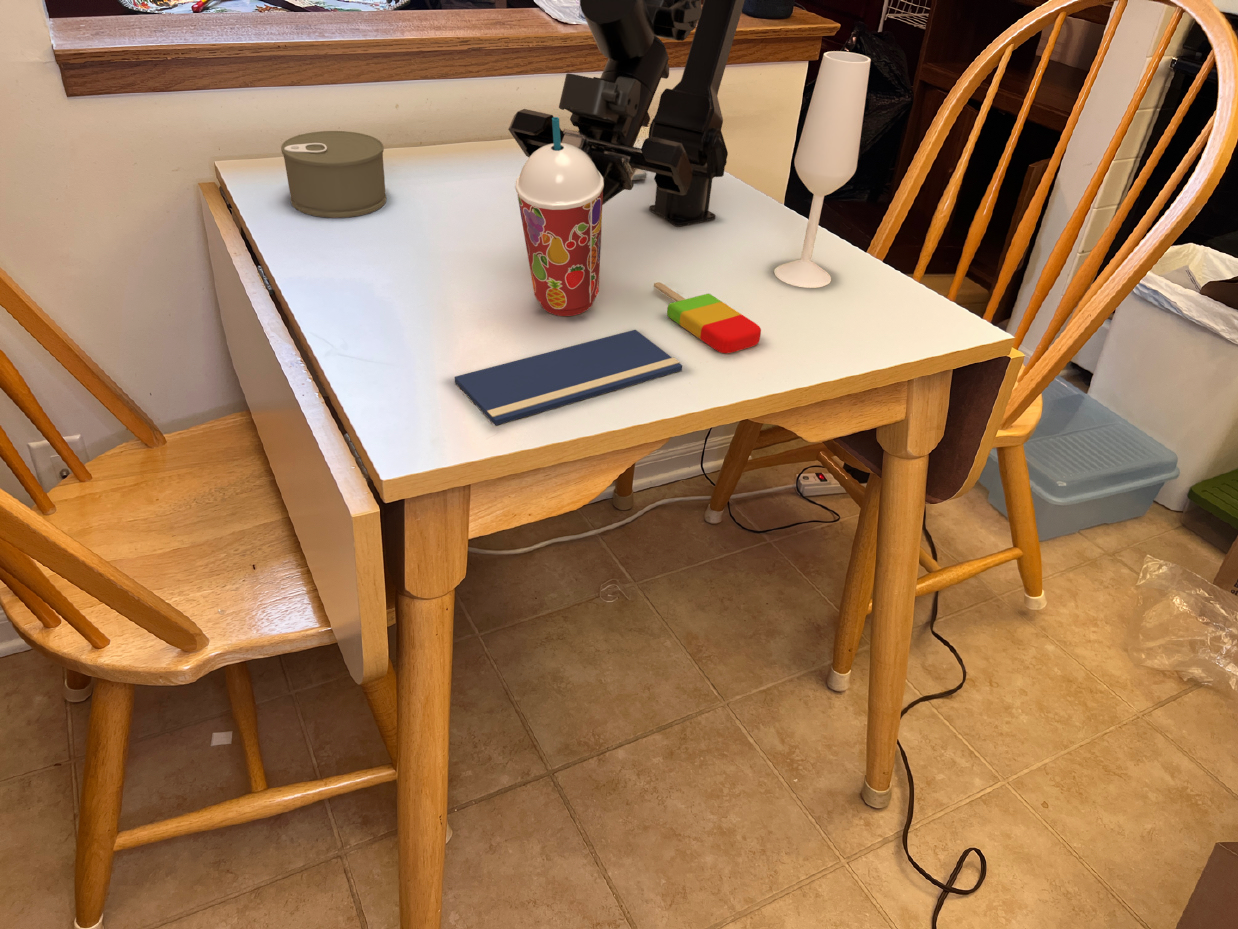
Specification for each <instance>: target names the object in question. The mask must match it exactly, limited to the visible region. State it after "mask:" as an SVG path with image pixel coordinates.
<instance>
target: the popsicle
mask: <svg viewBox="0 0 1238 929" xmlns="http://www.w3.org/2000/svg"><path fill="white" fill-rule="evenodd" d="M653 287H654V288H655V289H657V290H658V291H660V292H661V293H663V294H664V295H665V296H667V297H668V298H670V299H672V300H673V301H674V302H670V303H669V304H668V305H667V310H666V312H667V313H666V314H667V318H669V319H671V320H672V321H673V322H675V323H677V324H678V325H679V326H680V327H682V328H683V329H685V330H686V331H688V332H689V333H690V334H692V335H693V336H695V337H696V338H698V339H700V341H702V342H704V343H705V344H707V346H709V347H711V348H712V349H714V350H715V351H717V352H719V353H721V354H731V353H736V352H739V351H742V350H745V349H748V348H752V347H754V346H757V345H758V344H759V342H760V340H761V334H762V328H761V327H760V325H758V324H757V323H756V322H754V321H753V320H751V319H750V318H748V317H746V315H744V314H742V313H740V312H739V311H737V310H736V309H734V308H732V307H731V306H729V305H728V304H726V303H725V302H723V301H722V300H720V299H718V298H717V297H716V296H714V295H712V294H711V293H705V294H701V295H697V296H692V297H690V298H685V297H683V296H682V295H680V294H679V293H677V292H676V291H674V290H673V289H671V288H669V287H668V286H667V285H665V284H664V283H662V282H660V281H659V282H657V281H656V282H654V283H653Z"/></svg>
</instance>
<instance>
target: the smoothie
mask: <svg viewBox="0 0 1238 929" xmlns="http://www.w3.org/2000/svg"><path fill="white" fill-rule="evenodd" d="M552 127H553V143H552V144H547V145H545V146H542V147H541V148H539V149H538V150H536V151H535V152H533V153H532V154H531V155H530V157H527V160H526V161H525V163H524V164H523V166H522V168H521V171H520V174H519V176H518V177H517V178H516V180H515V187H514V188H515V191H516V194H517V200H518V207H519V212H520V218H521V224H522V230H523V237H524V243H525V247H526V248H525V249H526V253H527V260H528V264H529V271H530V278H531V283H532V288H533V289H532V290H533V295H534V297H535V298H536V300H537V302H539V303H540V306H541V307H542V309H543V310H545V311H546V313H549V314H552V315H553V316H554V315H555V316H560V317H572V316H573V317H574V316H576V315H581V314H583V313H584V312H586V311H588V310H590V308H591V307H592V306H593V304H594V302H595V299H596V298H597V296H598V294H599V292H600V278H601V277H600V273H601V250H602V227H603V224H602V223H603V205H604V204H603V188H604V178H603V177H602V175H601V174H600V173H599V171H598V170H597V168H596V167H595V165H594V163H593V162H592V160H591V159H590V158H589V156H588V155H587V154H586V153H585V152H583V151H582V150H581V149H579V148H578V147H576V146H573V145H570V144H566V143H561V139H560V129H561V125H560V118H559V117H558V116H553V118H552ZM602 204H603V205H602Z"/></svg>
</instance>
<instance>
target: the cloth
mask: <svg viewBox="0 0 1238 929" xmlns="http://www.w3.org/2000/svg"><path fill="white" fill-rule="evenodd" d="M681 371H683V364H681V362H680V361H679V360H678V359H676V358H675V357H672V356H671V355H670V354H668V353H667V352H665V351H664V349H662V348H661V347H659V346H658V345H656V343H654V342H653V341H651V340H650V339H649V338H647V337H646V336H645V335H643V334H642V333H641V332H639V331H638V330H637V329H632V330H629V331H624V332H620V333H617V334H612V335H609V336H605V337H602V338H597V339H593V340H590V341H586V342H583V343H579V344H575V345H571V346H567V347H563V348H560V349H555V350H552V351H547V352H544V353H540V354H536V355H533V356H529V357H525V358H521V359H516V360H513V361H509V362H505V363H502V364H498V365H494V366H490V367H486V368H482V369H479V370H475V371H471V372H468V373H463V374H460V375H456V376H454V383H455V384H456V385H457V386H458V387H459V388H460V390H462V392H463V393H464V394H465V395H466V396H467V397H468V398H469V399H470V400H471V401H472V403H474V404H475V406H476V407H477V408H478V409H479V410H480V411H481V412H482V413H483V414H484V415H485V416H486V417H487V418H488V420H489V421H490V422H491V423H492V424H493V425H494V426H499V425H502V424H503V425H504V424H506V423H509V422H513V421H517V420H519V419H523V418H526V417H529V416H534V415H536V414H539V413H543V412H547V411H551V410H553V409H556V408H560V407H564V406H566V405H570V404H574V403H577V402H580V401H584V400H587V399H590V398H594V397H598V396H600V395H603V394H608V393H611V392H614V391H617V390H621V389H624V388H627V387H631V386H634V385H638V384H641V383H645V382H649V381H651V380H654V379H658V378H661V377H665V376H668V375H671V374H675V373H679V372H681Z"/></svg>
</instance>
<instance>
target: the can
mask: <svg viewBox="0 0 1238 929" xmlns="http://www.w3.org/2000/svg"><path fill="white" fill-rule="evenodd" d="M280 150H281V154H282V155H283V159H284V166H285V172H286V178H287V179H286V180H287V184H288V191H289V195H290V203H291V206H292V207H293V208H294V209H295V210H297V211H298V212H300V213H302V214H305V215H309V216H313V217H318V218H319V217H320V218H327V219H329V218H331V219H342V218H343V219H344V218H353V217H361V216H365V215H368V214H371V213H374V212H376V211H378V210H379V209H381V208H383V207H384V206H385V205H386V203H387V195H386V194H387V193H386V180H385V170H384V169H385V167H384V150H385V148H384V144H383V143H382V141H381V140H380V139H378V138H376V137H374V136H371V135H368V134H364V133H360V132H355V131H347V130H344V131H343V130H322V131H311V132H306V133H302V134H298V135H295V136H292V137H290V138H288V139H286V140H285V141H284V142H282V143H281V147H280Z"/></svg>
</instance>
